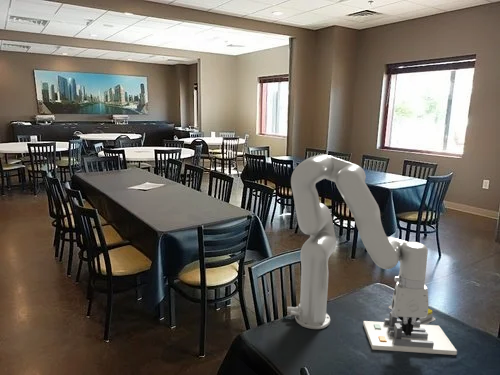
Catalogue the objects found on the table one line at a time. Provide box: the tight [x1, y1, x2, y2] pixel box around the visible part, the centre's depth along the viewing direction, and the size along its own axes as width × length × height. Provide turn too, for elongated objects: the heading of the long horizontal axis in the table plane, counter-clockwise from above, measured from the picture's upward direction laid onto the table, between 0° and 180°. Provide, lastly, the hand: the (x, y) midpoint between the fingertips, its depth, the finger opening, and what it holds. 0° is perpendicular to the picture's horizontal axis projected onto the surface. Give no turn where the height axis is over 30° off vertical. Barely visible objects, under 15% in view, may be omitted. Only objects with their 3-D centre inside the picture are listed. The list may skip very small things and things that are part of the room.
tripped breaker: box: [393, 323, 402, 339], centre depth 120 cm, size 2×3×5 cm, turn 175°
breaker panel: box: [362, 317, 458, 356], centre depth 124 cm, size 26×14×3 cm, turn 85°
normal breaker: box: [388, 311, 398, 327], centre depth 127 cm, size 2×3×5 cm, turn 174°
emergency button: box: [388, 304, 437, 325], centre depth 140 cm, size 9×4×15 cm
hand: (406, 333), depth 120 cm, fingers closed
